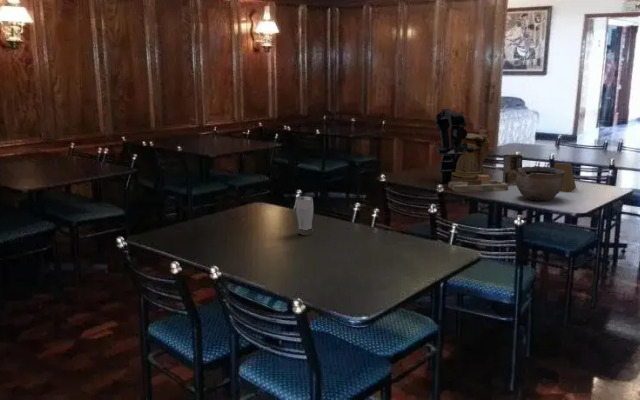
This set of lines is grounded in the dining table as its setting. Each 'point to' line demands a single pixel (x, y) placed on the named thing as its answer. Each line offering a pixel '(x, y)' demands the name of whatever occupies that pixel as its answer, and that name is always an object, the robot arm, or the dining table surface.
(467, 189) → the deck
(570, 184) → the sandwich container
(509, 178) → the coffee box
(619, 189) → the dining table surface
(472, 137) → the tankard
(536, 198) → the ceramic bowl
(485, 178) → the block
